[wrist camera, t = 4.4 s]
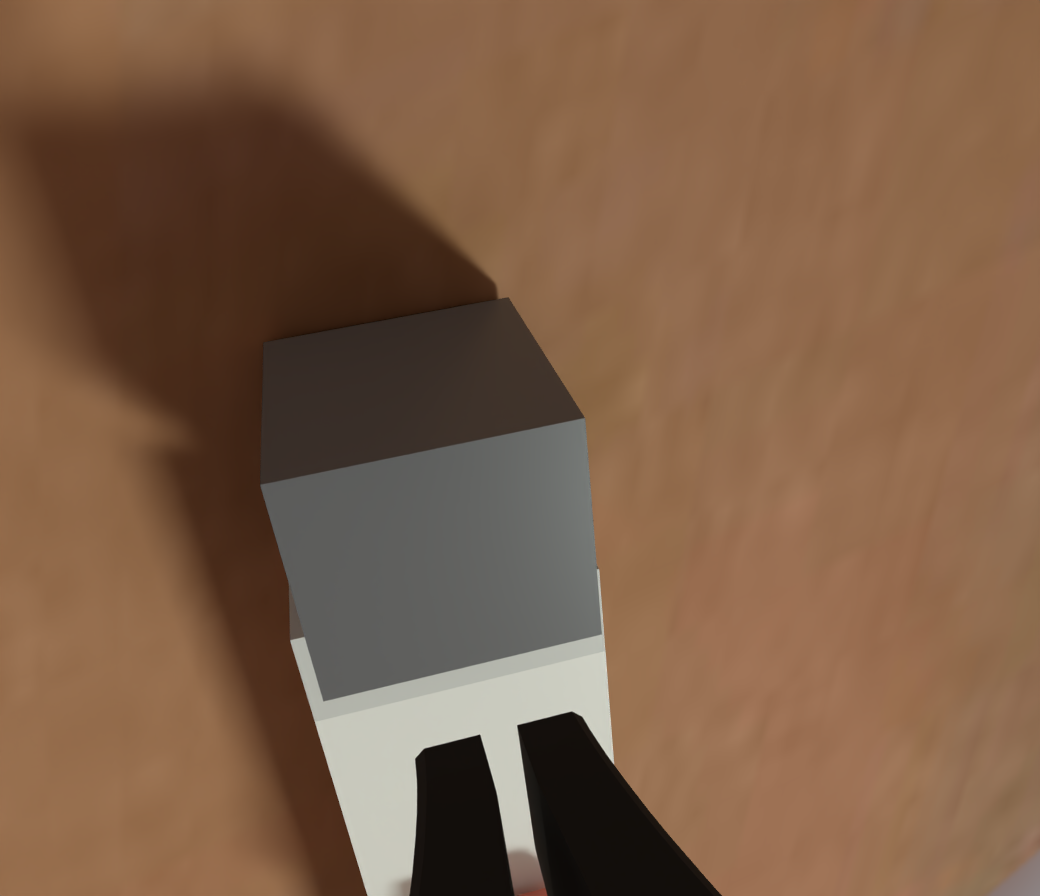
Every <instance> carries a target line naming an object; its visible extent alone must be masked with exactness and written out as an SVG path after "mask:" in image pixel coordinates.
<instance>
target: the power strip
mask: <svg viewBox="0 0 1040 896" xmlns="http://www.w3.org/2000/svg"><path fill="white" fill-rule="evenodd" d="M596 565H597V564H596ZM597 577H598V590H599V603H600V615H601V628H602V635H597V636H593V637H589V638H585V639H581V640H577V641H573V642H568V643H564V644H560V645H556V646H552V647H548V648H544V649H539V650H535V651H531V652H527V653H523V654H519V655H515V656H510V657H506V658H502V659H498V660H494V661H490V662H486V663H481V664H477V665H473V666H469V667H465V668H461V669H457V670H452V671H448V672H444V673H440V674H436V675H432V676H427V677H423V678H419V679H415V680H411V681H407V682H403V683H398V684H394V685H390V686H386V687H382V688H378V689H374V690H369V691H365V692H361V693H357V694H353V695H349V696H345V697H340V698H336V699H332V700H328V701H324V702H323V698H322V695H321V692H320V688H319V685H318V681H317V678H316V674H315V671H314V668H313V664H312V661H311V657H310V654H309V651H308V647H307V644H306V640H305V637H304V633H303V630H302V627H301V623H300V620H299V616H298V613H297V609H296V606H295V603H294V599H293V596H292V592H291V589H290V586H289V614H290V642H291V645H292V648H293V651H294V655H295V658H296V661H297V665H298V668H299V671H300V675H301V678H302V681H303V684H304V688H305V691H306V694H307V698H308V701H309V704H310V708H311V711H312V714H313V717H314V721H315V724H316V727H317V731H318V734H319V737H320V740H321V744H322V747H323V750H324V754H325V757H326V760H327V764H328V767H329V770H330V773H331V777H332V780H333V783H334V787H335V790H336V793H337V797H338V800H339V803H340V806H341V810H342V813H343V816H344V820H345V823H346V826H347V829H348V833H349V836H350V839H351V843H352V846H353V849H354V853H355V856H356V859H357V862H358V866H359V869H360V872H361V876H362V879H363V882H364V886H365V889H366V892H367V895H368V896H409V894H410V887H411V880H412V870H413V859H414V848H415V836H416V818H417V777H416V765H415V758H416V757H417V756H418V755H419V754H420V753H421V751H422V750H423V749H424V748H428V747H432V746H436V745H440V744H444V743H448V742H452V741H456V740H460V739H464V738H468V737H472V736H476V735H480V736H481V739H482V742H483V746H484V749H485V753H486V756H487V760H488V763H489V767H490V770H491V774H492V778H493V781H494V785H495V788H496V792H497V797H498V802H499V808H500V814H501V820H502V826H503V831H504V837H505V843H506V849H507V855H508V861H509V866H510V872H511V878H512V884H513V890H514V895H515V896H518V895H521V894H525V893H528V892H532V891H536V890H539V889H543V888H545V885H544V881H543V877H542V873H541V869H540V865H539V861H538V858H537V854H536V850H535V844H534V837H533V830H532V824H531V817H530V810H529V803H528V797H527V790H526V783H525V776H524V770H523V763H522V756H521V749H520V742H519V736H518V729H517V725H519V724H523V723H527V722H531V721H535V720H539V719H543V718H547V717H551V716H555V715H559V714H563V713H567V712H571V711H572V712H574V713H576V714H578V715H580V716H582V717H583V719H584V720H585V722H586V724H587V725H588V727H589V729H590V730H591V732H592V733H593V735H594V736H595V738H596V739H597V741H598V742H599V744H600V745H601V747H602V748H603V750H604V751H605V753H606V754H607V756H608V757H609V758H610V760H611V761H612V763H613V764H614V758H613V745H612V732H611V719H610V706H609V693H608V680H607V667H606V654H605V641H604V628H603V615H602V602H601V590H600V577H599V568H598V566H597Z"/></svg>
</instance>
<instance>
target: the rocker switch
mask: <svg viewBox="0 0 1040 896" xmlns="http://www.w3.org/2000/svg"><path fill="white" fill-rule="evenodd" d="M518 896H547V892H546V889H545V888H543V889H539V890H536V891H532V892H528V893H525V894H521V895H518Z"/></svg>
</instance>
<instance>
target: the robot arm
mask: <svg viewBox="0 0 1040 896" xmlns="http://www.w3.org/2000/svg"><path fill="white" fill-rule="evenodd" d="M517 729H518V736H519V742H520V749H521V756H522V763H523V770H524V776H525V783H526V790H527V797H528V803H529V810H530V817H531V824H532V830H533V837H534V844H535V850H536V854H537V858H538V861H539V865H540V869H541V873H542V877H543V881H544V885H545V889H546V892H547V896H722V895H721V894H720V893H719V892H718V891H717V890H716V889H715V888H714V887H713V885H712V884H711V883H710V882H709V881H708V880H707V879H706V878H705V876H704V875H703V874H702V873H701V872H700V871H699V869H698V868H697V867H696V866H695V865H694V864H693V862H692V861H691V860H690V859H689V858H688V857H687V856H686V854H685V853H684V852H683V851H682V850H681V849H680V847H679V846H678V845H677V844H676V843H675V842H674V841H673V839H672V838H671V837H670V836H669V835H668V834H667V832H666V831H665V830H664V829H663V827H662V826H661V825H660V824H659V823H658V821H657V820H656V819H655V818H654V816H653V815H652V814H651V813H650V812H649V810H648V809H647V808H646V806H645V805H644V804H643V803H642V801H641V800H640V799H639V797H638V796H637V795H636V794H635V792H634V791H633V790H632V788H631V787H630V786H629V784H628V783H627V782H626V781H625V779H624V778H623V776H622V775H621V774H620V772H619V771H618V770H617V768H616V767H615V766H614V764H613V763H612V761H611V760H610V758H609V757H608V756H607V754H606V753H605V751H604V750H603V748H602V747H601V745H600V744H599V742H598V741H597V739H596V738H595V736H594V735H593V733H592V732H591V730H590V729H589V727H588V725H587V724H586V722H585V720H584V719H583V717H582V716H580V715H578V714H576V713H574V712H572V711H571V712H567V713H563V714H559V715H555V716H551V717H547V718H543V719H539V720H535V721H531V722H527V723H523V724H519V725H517ZM415 765H416V777H417V818H416V836H415V848H414V859H413V870H412V880H411V887H410V894H409V896H515V895H514V890H513V884H512V878H511V872H510V866H509V861H508V855H507V849H506V843H505V837H504V831H503V826H502V820H501V814H500V808H499V802H498V797H497V792H496V788H495V785H494V781H493V778H492V774H491V770H490V767H489V763H488V760H487V756H486V753H485V749H484V746H483V742H482V739H481V736H480V735H476V736H472V737H468V738H464V739H460V740H456V741H452V742H448V743H444V744H440V745H436V746H432V747H428V748H424V749H423V750H422V751H421V753H420V754H419V755H418V756H417V757H416V758H415Z"/></svg>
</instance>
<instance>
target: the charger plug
mask: <svg viewBox="0 0 1040 896" xmlns="http://www.w3.org/2000/svg"><path fill="white" fill-rule="evenodd" d="M260 486H261V490H262V493H263V497H264V500H265V503H266V507H267V510H268V514H269V517H270V521H271V524H272V527H273V531H274V534H275V538H276V541H277V544H278V548H279V551H280V555H281V558H282V562H283V565H284V568H285V572H286V575H287V579H288V582H289V586H290V589H291V592H292V596H293V599H294V603H295V606H296V609H297V613H298V616H299V620H300V623H301V627H302V630H303V633H304V637H305V640H306V644H307V647H308V651H309V654H310V657H311V661H312V664H313V668H314V671H315V674H316V678H317V681H318V685H319V688H320V692H321V695H322V698H323V702H324V701H328V700H332V699H336V698H340V697H345V696H349V695H353V694H357V693H361V692H365V691H369V690H374V689H378V688H382V687H386V686H390V685H394V684H398V683H403V682H407V681H411V680H415V679H419V678H423V677H427V676H432V675H436V674H440V673H444V672H448V671H452V670H457V669H461V668H465V667H469V666H473V665H477V664H481V663H486V662H490V661H494V660H498V659H502V658H506V657H510V656H515V655H519V654H523V653H527V652H531V651H535V650H539V649H544V648H548V647H552V646H556V645H560V644H564V643H568V642H573V641H577V640H581V639H585V638H589V637H593V636H597V635H602V628H601V615H600V603H599V590H598V577H597V565H596V552H595V539H594V526H593V514H592V501H591V488H590V475H589V463H588V450H587V437H586V424H585V417H584V416H583V414H582V413H581V411H580V409H579V408H578V406H577V405H576V403H575V402H574V400H573V398H572V397H571V395H570V394H569V392H568V391H567V389H566V387H565V386H564V384H563V383H562V381H561V380H560V378H559V376H558V375H557V373H556V372H555V370H554V368H553V367H552V365H551V364H550V362H549V361H548V359H547V357H546V356H545V354H544V353H543V351H542V350H541V348H540V346H539V345H538V343H537V342H536V340H535V339H534V337H533V335H532V334H531V332H530V331H529V329H528V328H527V326H526V324H525V323H524V321H523V320H522V318H521V317H520V315H519V313H518V312H517V310H516V309H515V307H514V306H513V304H512V302H511V301H510V299H509V298H502V299H497V300H491V301H486V302H481V303H475V304H470V305H464V306H459V307H453V308H448V309H443V310H437V311H432V312H426V313H421V314H415V315H410V316H405V317H399V318H394V319H388V320H383V321H377V322H372V323H367V324H361V325H356V326H350V327H345V328H339V329H334V330H329V331H323V332H318V333H312V334H307V335H301V336H296V337H291V338H285V339H280V340H274V341H269V342H263V384H262V426H261V468H260Z"/></svg>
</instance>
